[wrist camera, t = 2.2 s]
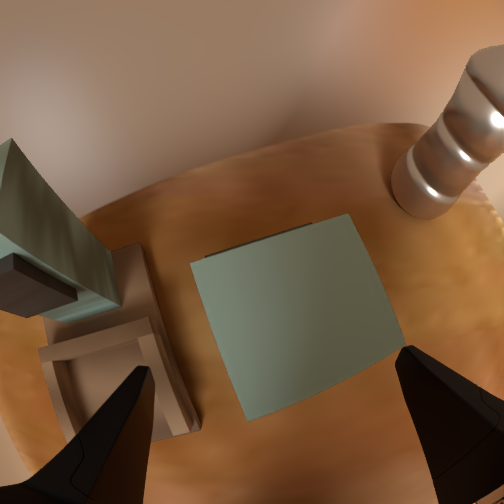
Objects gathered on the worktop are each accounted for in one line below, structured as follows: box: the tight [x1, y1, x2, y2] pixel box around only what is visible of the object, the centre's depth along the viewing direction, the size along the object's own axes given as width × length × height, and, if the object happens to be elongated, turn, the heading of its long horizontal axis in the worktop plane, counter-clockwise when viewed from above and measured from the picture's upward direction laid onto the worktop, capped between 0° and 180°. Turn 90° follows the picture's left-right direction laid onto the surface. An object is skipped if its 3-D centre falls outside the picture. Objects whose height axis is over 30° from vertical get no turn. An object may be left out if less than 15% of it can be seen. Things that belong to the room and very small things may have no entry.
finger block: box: [190, 213, 406, 421], centre depth 12 cm, size 5×4×12 cm
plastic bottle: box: [391, 45, 504, 220], centre depth 14 cm, size 6×7×20 cm
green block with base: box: [0, 138, 202, 443], centre depth 10 cm, size 13×9×13 cm
